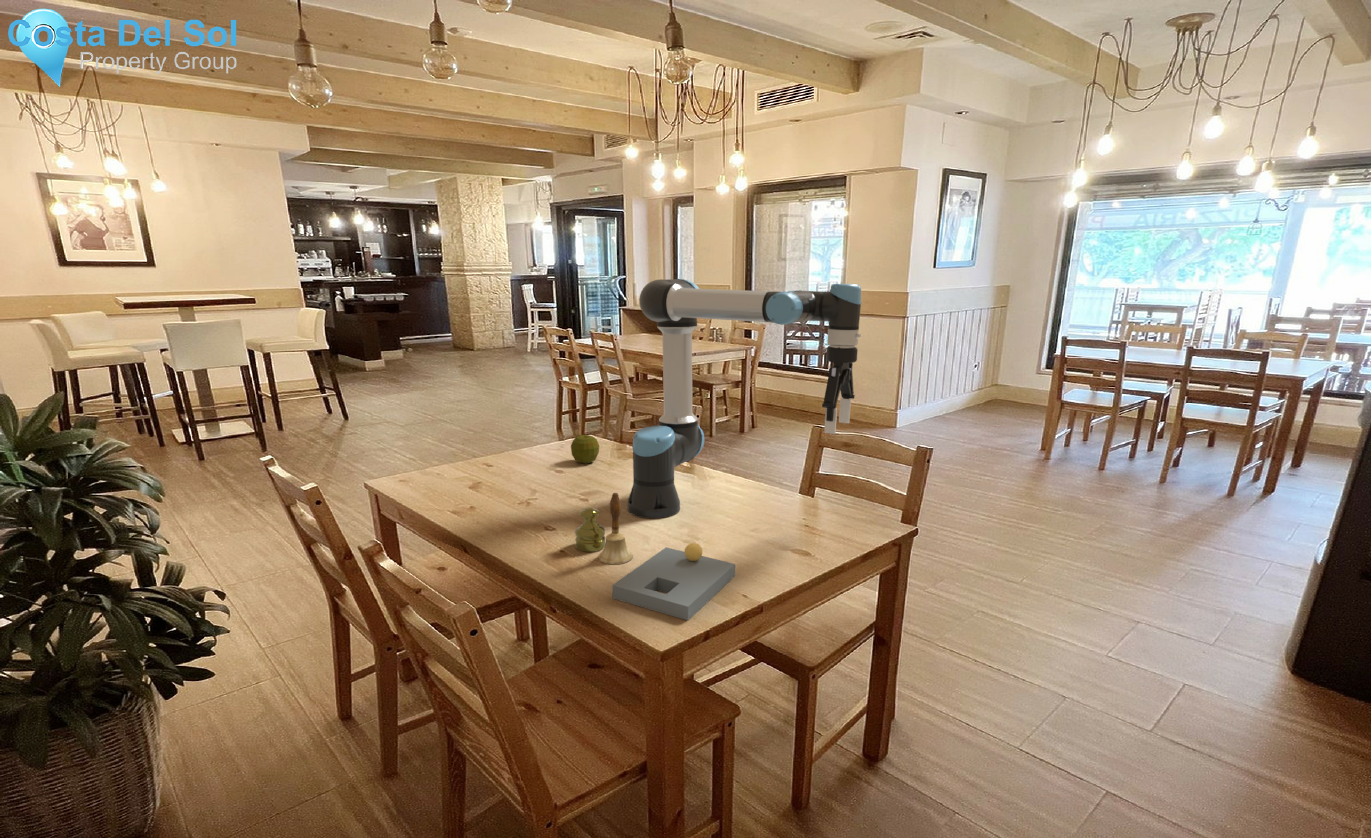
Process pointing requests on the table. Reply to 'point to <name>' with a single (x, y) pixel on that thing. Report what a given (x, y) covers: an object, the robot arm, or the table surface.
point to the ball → (693, 552)
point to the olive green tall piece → (590, 532)
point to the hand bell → (615, 538)
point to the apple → (585, 448)
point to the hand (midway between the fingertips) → (837, 427)
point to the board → (674, 583)
